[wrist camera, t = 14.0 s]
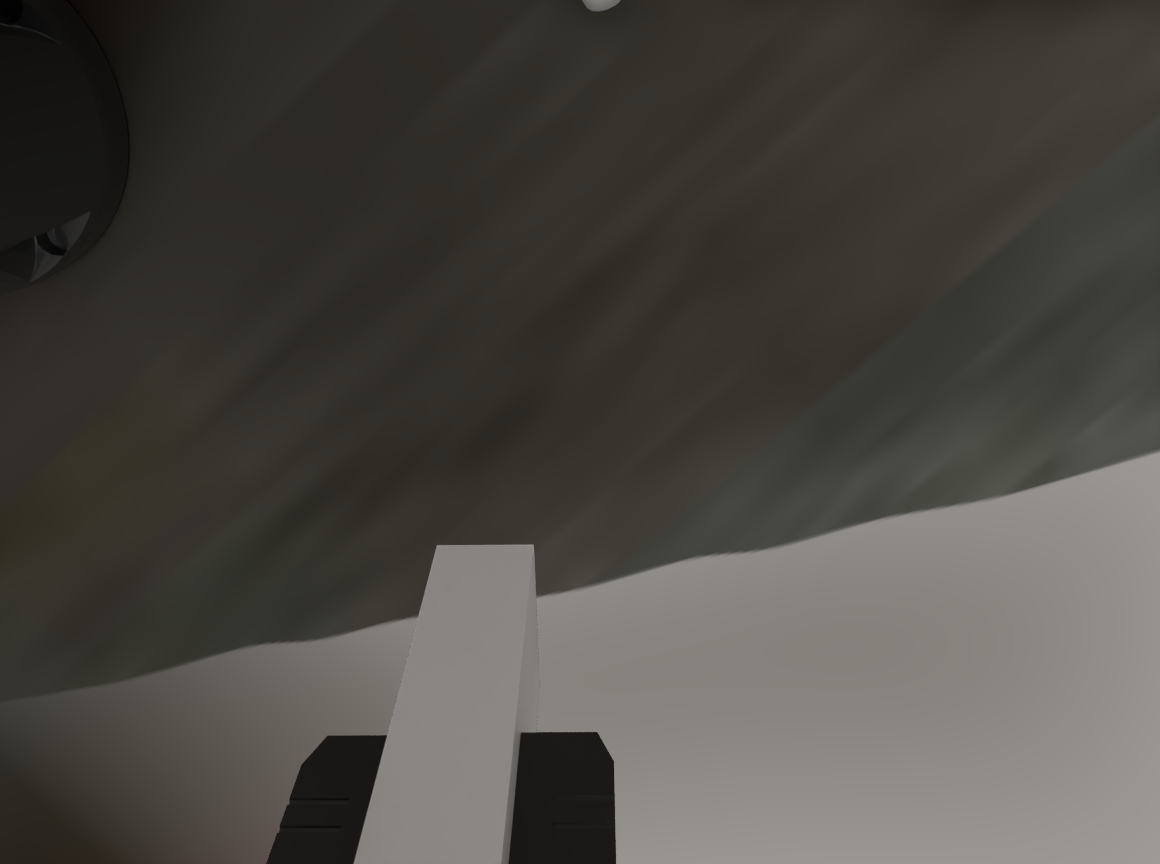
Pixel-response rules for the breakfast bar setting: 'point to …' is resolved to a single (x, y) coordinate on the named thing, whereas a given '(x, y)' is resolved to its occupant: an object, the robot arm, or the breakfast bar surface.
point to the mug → (600, 4)
